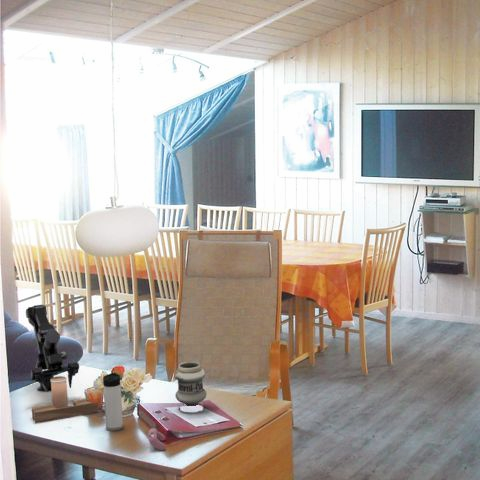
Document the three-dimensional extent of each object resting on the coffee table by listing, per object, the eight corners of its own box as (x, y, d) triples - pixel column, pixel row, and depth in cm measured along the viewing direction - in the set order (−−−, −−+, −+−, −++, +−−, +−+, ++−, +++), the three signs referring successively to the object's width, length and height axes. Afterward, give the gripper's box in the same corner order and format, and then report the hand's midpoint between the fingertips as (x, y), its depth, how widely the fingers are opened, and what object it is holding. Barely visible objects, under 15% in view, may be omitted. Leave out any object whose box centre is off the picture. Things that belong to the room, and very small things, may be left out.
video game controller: (155, 444, 286) (145, 428, 284) (166, 438, 286) (156, 421, 285) (155, 455, 276) (144, 439, 275) (166, 449, 276) (156, 432, 275)
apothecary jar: (170, 412, 312) (168, 367, 310) (184, 402, 324) (182, 358, 321) (199, 415, 308) (197, 370, 305) (212, 405, 319) (210, 361, 316)
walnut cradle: (32, 417, 312) (31, 407, 312) (93, 406, 322) (92, 397, 321) (35, 423, 306) (34, 413, 305) (98, 412, 315) (97, 402, 315)
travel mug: (125, 424, 302) (122, 372, 299) (120, 431, 295) (117, 378, 292) (108, 424, 302) (105, 372, 299) (103, 431, 296) (100, 378, 293)
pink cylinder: (51, 406, 323) (49, 377, 322) (66, 404, 326) (64, 375, 324) (54, 411, 318) (52, 382, 316) (69, 408, 320) (67, 379, 319)
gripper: (29, 348, 320) (36, 383, 312) (76, 342, 327) (84, 376, 319) (27, 362, 328) (34, 397, 320) (73, 356, 336) (81, 389, 327)
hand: (59, 389), depth 321 cm, fingers open, 9 cm apart
